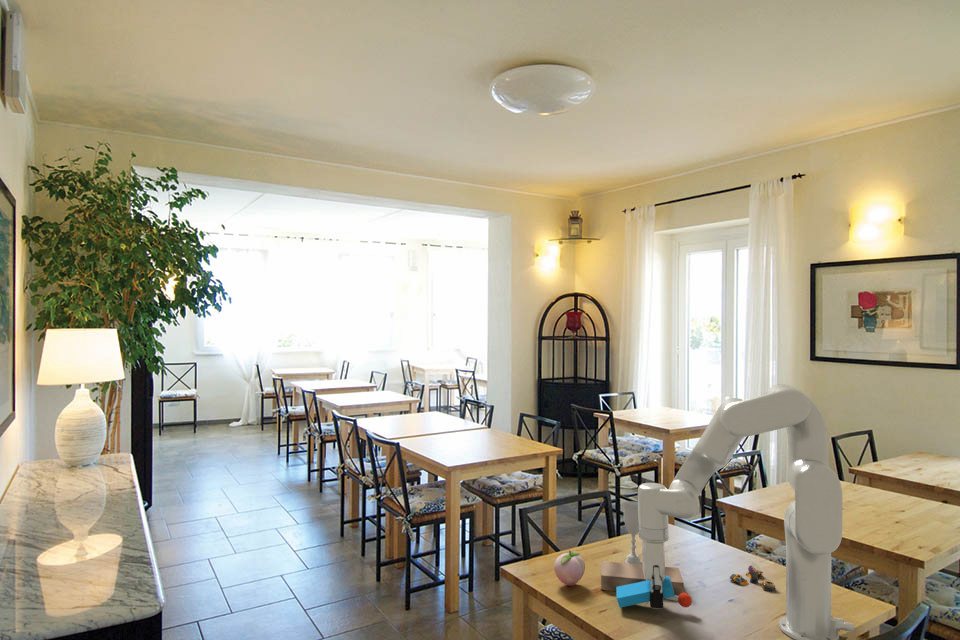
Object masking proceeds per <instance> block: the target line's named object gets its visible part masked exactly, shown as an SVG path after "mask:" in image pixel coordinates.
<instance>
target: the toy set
mask: <svg viewBox="0 0 960 640" xmlns="http://www.w3.org/2000/svg"><path fill="white" fill-rule="evenodd" d="M747 571H748V572H746V573H745V576H747V577H748V578H749V582H748V579H745V578H744V577H743V575H741V574H739V573H737V574H736V573H732V574H731V575H730V576H729V579H730V583H736V584H737V585H739V586H741V585H742V586H746V585H749V583H750V584H753V585H758V584H759V580H760V579H764V575H763V574H764V572H763V571H762V570H759V569H756V568H755V567H754V566H753V565H749V566H748V568H747ZM760 585H761V588H762V590H763V591H766V592H773V593H776V590H777V588H776V584H775V583H774V582H773V581H770V580H765V581H761V584H760Z"/></svg>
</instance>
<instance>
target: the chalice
mask: <svg viewBox="0 0 960 640" xmlns="http://www.w3.org/2000/svg"><path fill="white" fill-rule="evenodd" d="M621 505H622V507H623V521H624V525H625V527H626V530H627V532H628V534H629V535H631V539H630V542H631V545H630V548H631V552H630V553H628V554H627V556H626V558H625V561H624V563H628V564H639V565H642V563H643V562H642V560H641V559H640V556H639V555H638V554H637V553H636V551H635V550H636V548H637V546H636V542H637V540H636V535H639V521H638V501H632V500H629V501H623V502H622V503H621Z"/></svg>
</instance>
